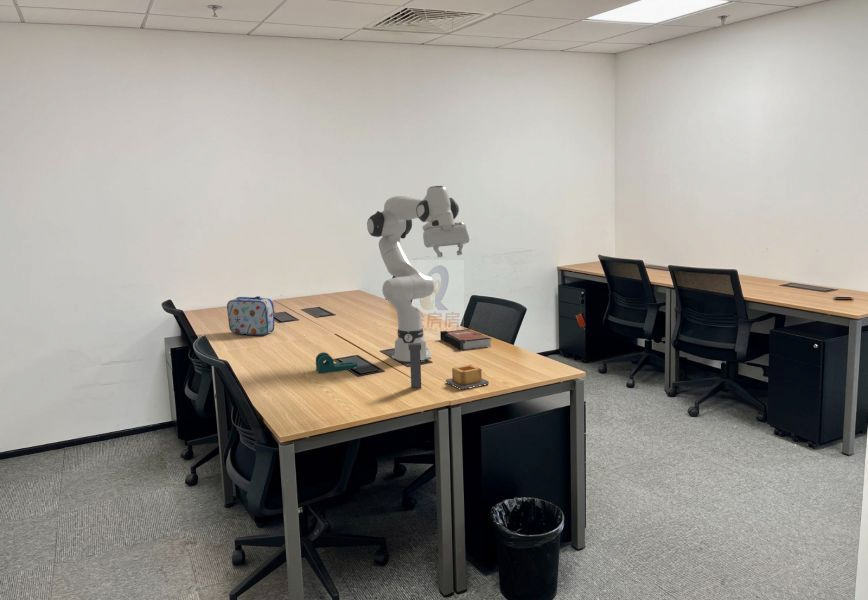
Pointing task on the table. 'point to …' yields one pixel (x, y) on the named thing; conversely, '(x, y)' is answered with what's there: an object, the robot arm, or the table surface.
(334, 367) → the bracket
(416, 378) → the tall dark grey post
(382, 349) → the table surface
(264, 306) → the lunch box
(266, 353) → the table surface
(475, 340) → the book
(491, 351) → the table surface
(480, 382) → the frame on grey plate
